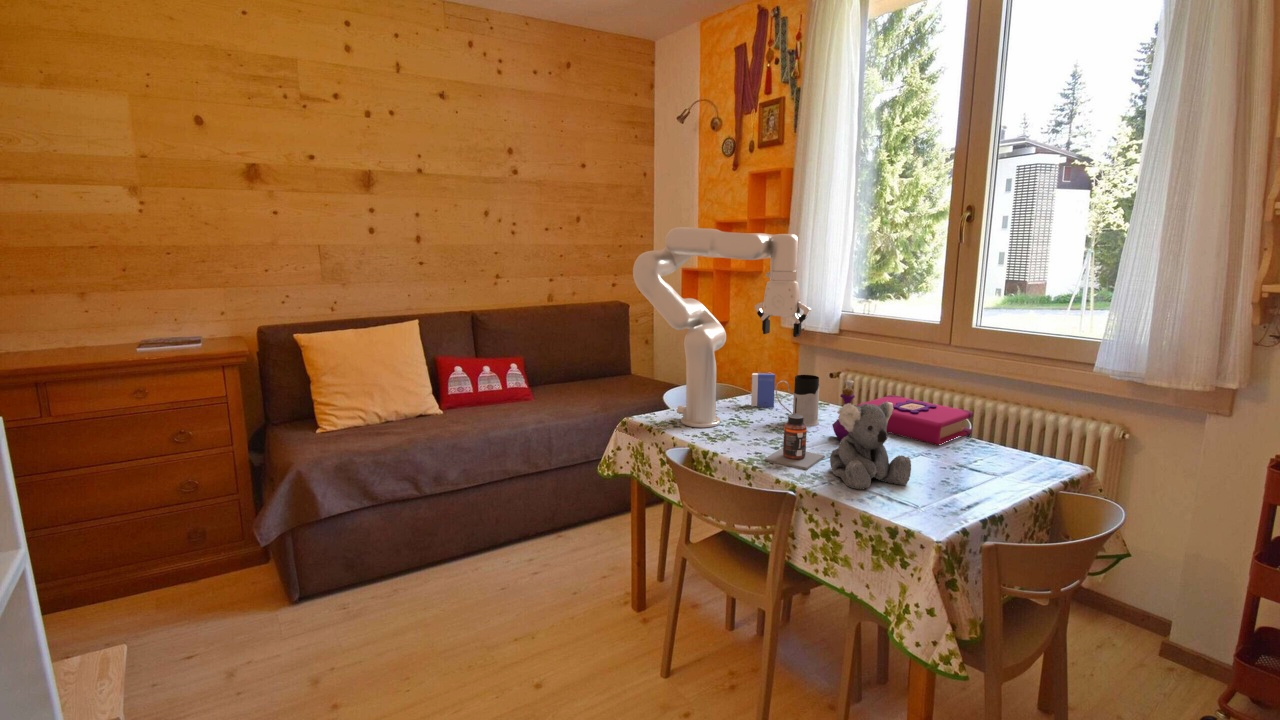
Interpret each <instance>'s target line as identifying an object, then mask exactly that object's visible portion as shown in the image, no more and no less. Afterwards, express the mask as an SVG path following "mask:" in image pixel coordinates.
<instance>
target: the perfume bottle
mask: <svg viewBox="0 0 1280 720" xmlns="http://www.w3.org/2000/svg"><path fill="white" fill-rule="evenodd" d="M843 381H844V383H845V385H846V386H847V387H845V388H843V389H842V393H841V394H840V398H842V400H843V406H844V405H846V404H848V403H849V404H850V403H851V404H852V400H853V399H854V398H856V396H855V395H854V389H853V388H852V386H853V385H854V382H855V381H853V380H843ZM840 423H841V422H839V420H838V419H836V421H834V423H832V424H831V426H832V429H833V432H834V435H835V436H836V438H837V440H838V442H841V440H842V439H843V438H844V437H846V436H847V435H848V434H849V433H848V431H847V430H846V429H845V427H844V426H843V425H841V424H840Z"/></svg>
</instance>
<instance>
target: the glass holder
mask: <svg viewBox="0 0 1280 720" xmlns="http://www.w3.org/2000/svg"><path fill="white" fill-rule="evenodd" d="M781 383H785V384H786V385H787V390H788V393H789V395H793V403H792V411H790V410H789V409H788V408H787V407H786V406H785V405H784V404H783V403H782V402H781V401H780V399H779V397H778V385H779V384H781ZM793 390H794V391H793V392H791V387H790V385H789V383H788V381H785V380H780V381H777V383H776V384H775V396H776V399H777V402H778V404H779V405H780V406H782V407H783V408H784V409H785V410H786V411H788V412H789V414H790V415H801V416H803V417H804V421H803V423H804V424H805V425H806V426H807V428H808V427H809V428H810V427H817V426H818V425H820V422H819V400H820V398H819V397H820V377H819V376H817V375H813V374H798V375H795V376H794V389H793Z"/></svg>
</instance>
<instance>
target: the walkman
mask: <svg viewBox="0 0 1280 720" xmlns="http://www.w3.org/2000/svg"><path fill="white" fill-rule="evenodd" d="M750 383H751V396H750V397H751V401H750V402H751V405H750V407H751V406H759V407H758V408H774V407H775V392H776V390H775V388H776V374H775V373H772V371H771V372H769V371H768V372H767V373H766V372H765V373H764V372H762V373H761V372H758V373H757V372H753V373H752V374H751V382H750Z"/></svg>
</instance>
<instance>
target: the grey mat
mask: <svg viewBox="0 0 1280 720" xmlns="http://www.w3.org/2000/svg"><path fill="white" fill-rule="evenodd" d="M824 458H826V456H825V454H820V453H815V452H811V451H806V454H805V457H804V458H803V459H789V458H786V457H785V456H784V455H783V447H782V448H779V449H778V450H777V451H775V452H774V453H772V454H770V455H768V456H767V457H765V458H764V461H765V462H769V463H775V464H778V465H783V466H788V467H791V468H792V467H793V468H797V469H801V470H807V471H808V470H809V469H811V468H812V467H814V466H815V465H817V463H819V462H821V461H822V460H823V459H824Z"/></svg>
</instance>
